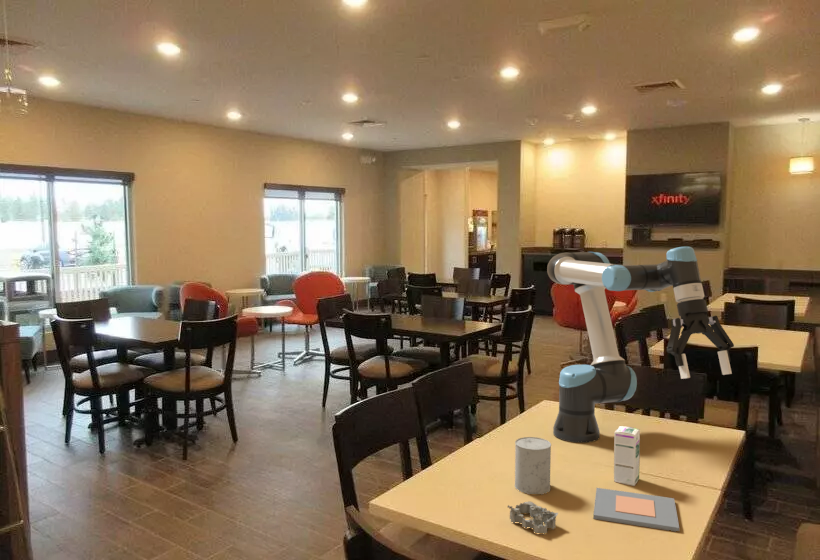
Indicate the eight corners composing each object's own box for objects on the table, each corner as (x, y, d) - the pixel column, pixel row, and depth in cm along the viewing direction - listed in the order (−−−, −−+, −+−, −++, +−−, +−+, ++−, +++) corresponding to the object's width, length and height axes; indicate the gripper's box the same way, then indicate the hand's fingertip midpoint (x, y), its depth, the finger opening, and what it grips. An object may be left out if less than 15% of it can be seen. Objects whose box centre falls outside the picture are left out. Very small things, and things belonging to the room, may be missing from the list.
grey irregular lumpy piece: (504, 521, 143) (505, 504, 143) (525, 511, 148) (525, 495, 148) (540, 538, 135) (540, 521, 135) (560, 528, 140) (560, 511, 139)
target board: (593, 518, 144) (593, 513, 143) (596, 491, 159) (596, 486, 158) (679, 532, 137) (679, 527, 137) (673, 502, 152) (674, 497, 152)
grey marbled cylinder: (552, 482, 164) (552, 439, 163) (548, 497, 155) (549, 451, 154) (517, 477, 167) (518, 435, 166) (511, 492, 158) (512, 447, 157)
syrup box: (635, 486, 161) (636, 434, 160) (612, 481, 164) (614, 430, 163) (639, 479, 166) (641, 428, 165) (617, 474, 169) (619, 424, 168)
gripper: (661, 300, 161) (677, 378, 156) (737, 295, 167) (754, 371, 163) (644, 305, 168) (659, 381, 163) (717, 301, 174) (733, 374, 170)
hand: (706, 376), depth 163 cm, fingers open, 13 cm apart
